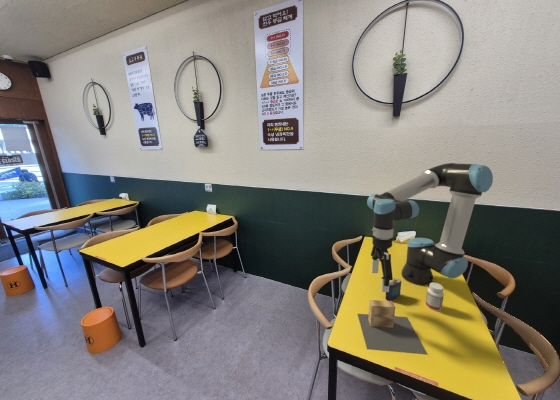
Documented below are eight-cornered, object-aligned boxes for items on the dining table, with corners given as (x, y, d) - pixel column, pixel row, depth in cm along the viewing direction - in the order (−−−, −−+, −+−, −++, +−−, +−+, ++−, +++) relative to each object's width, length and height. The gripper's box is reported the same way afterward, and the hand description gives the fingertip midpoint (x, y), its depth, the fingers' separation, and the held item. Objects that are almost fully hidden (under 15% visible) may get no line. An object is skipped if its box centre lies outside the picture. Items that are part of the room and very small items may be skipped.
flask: (396, 293, 112) (398, 274, 110) (402, 296, 110) (404, 277, 107) (383, 299, 109) (385, 279, 106) (388, 302, 106) (390, 283, 104)
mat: (406, 317, 97) (407, 316, 97) (427, 355, 79) (427, 354, 79) (357, 314, 100) (357, 313, 100) (366, 349, 82) (367, 349, 82)
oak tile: (390, 321, 95) (392, 301, 92) (393, 327, 91) (395, 307, 89) (368, 319, 96) (369, 299, 94) (370, 326, 93) (371, 305, 90)
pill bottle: (432, 301, 106) (435, 280, 103) (444, 310, 100) (448, 288, 97) (422, 304, 105) (424, 283, 102) (433, 313, 99) (437, 291, 96)
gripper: (365, 225, 104) (363, 266, 109) (383, 250, 80) (379, 300, 85) (381, 225, 103) (379, 266, 108) (405, 250, 79) (400, 301, 84)
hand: (379, 281), depth 96 cm, fingers open, 13 cm apart
